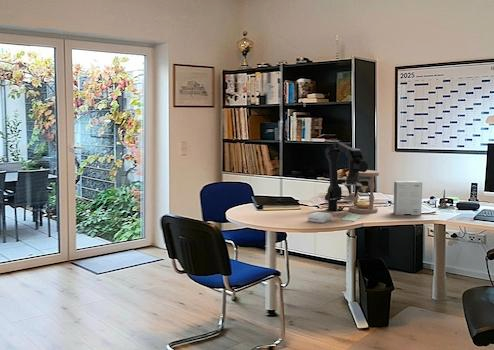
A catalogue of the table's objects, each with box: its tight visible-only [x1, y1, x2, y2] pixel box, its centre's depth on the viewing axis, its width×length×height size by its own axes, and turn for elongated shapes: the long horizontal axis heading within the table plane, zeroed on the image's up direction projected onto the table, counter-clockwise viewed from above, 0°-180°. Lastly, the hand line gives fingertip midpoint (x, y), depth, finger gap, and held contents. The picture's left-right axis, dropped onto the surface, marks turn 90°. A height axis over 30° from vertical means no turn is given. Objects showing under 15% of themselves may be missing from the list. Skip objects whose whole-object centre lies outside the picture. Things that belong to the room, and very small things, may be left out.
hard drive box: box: [393, 180, 423, 216], centre depth 321 cm, size 16×8×20 cm, turn 84°
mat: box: [340, 213, 363, 222], centre depth 308 cm, size 18×8×1 cm, turn 155°
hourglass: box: [348, 169, 380, 215], centre depth 329 cm, size 18×18×25 cm
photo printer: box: [307, 211, 333, 224], centre depth 299 cm, size 10×4×12 cm
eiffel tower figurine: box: [436, 188, 455, 210], centre depth 342 cm, size 15×10×13 cm
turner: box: [342, 192, 357, 202], centre depth 307 cm, size 15×6×3 cm, turn 154°
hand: (353, 196), depth 310 cm, fingers closed on turner, 2 cm apart
